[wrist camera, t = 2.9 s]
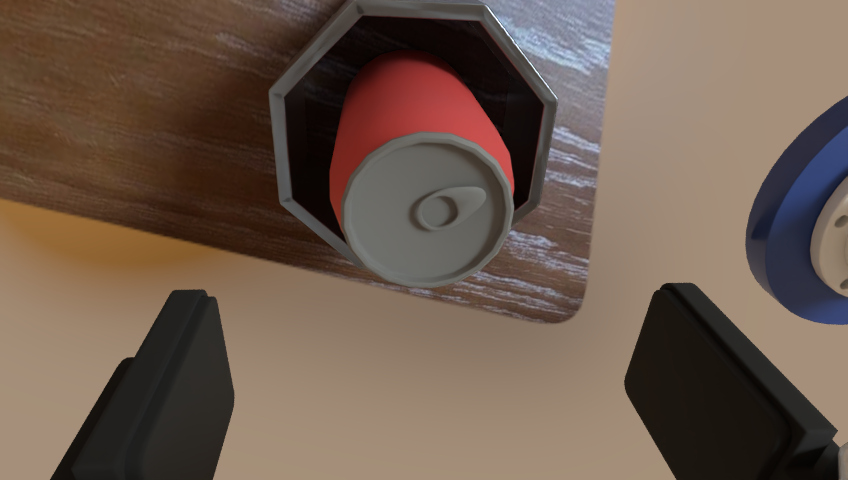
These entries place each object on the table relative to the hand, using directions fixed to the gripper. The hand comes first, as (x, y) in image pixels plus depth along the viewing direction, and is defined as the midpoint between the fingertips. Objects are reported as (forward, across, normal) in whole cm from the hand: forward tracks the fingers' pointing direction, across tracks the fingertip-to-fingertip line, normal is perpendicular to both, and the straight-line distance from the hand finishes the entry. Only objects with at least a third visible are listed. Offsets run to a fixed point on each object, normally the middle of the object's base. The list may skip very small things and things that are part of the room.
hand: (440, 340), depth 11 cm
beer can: (+18, 0, 0) cm, 18 cm away
